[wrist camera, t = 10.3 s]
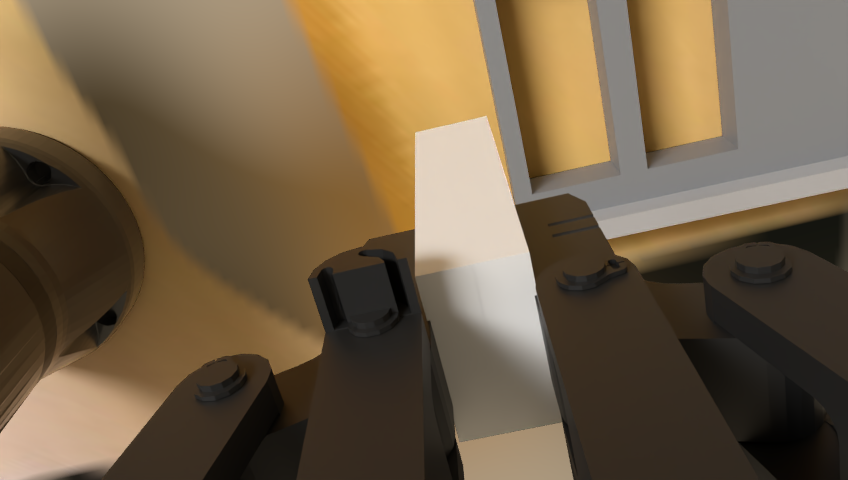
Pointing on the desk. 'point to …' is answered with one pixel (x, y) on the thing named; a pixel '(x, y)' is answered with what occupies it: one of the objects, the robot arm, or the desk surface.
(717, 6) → the lane deck
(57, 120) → the desk surface
